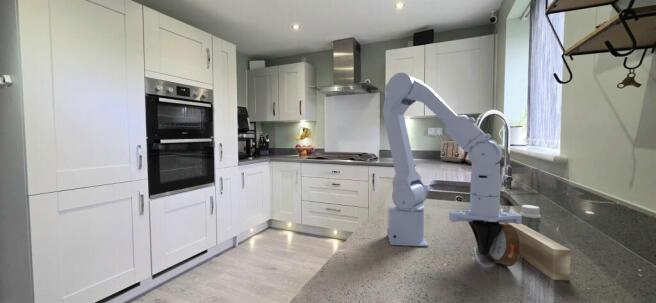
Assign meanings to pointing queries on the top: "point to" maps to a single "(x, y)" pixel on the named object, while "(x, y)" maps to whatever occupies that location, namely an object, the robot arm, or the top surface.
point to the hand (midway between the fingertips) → (483, 253)
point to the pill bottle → (531, 217)
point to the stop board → (544, 253)
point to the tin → (506, 246)
